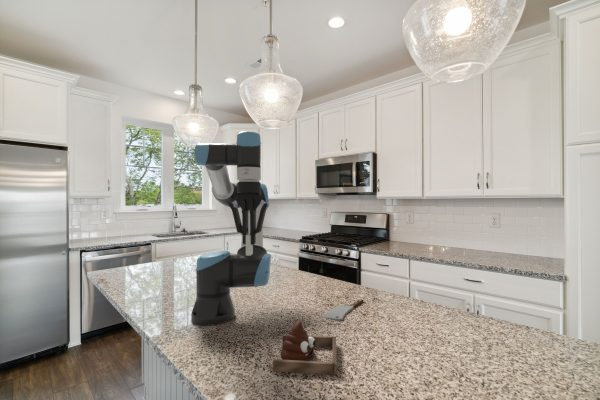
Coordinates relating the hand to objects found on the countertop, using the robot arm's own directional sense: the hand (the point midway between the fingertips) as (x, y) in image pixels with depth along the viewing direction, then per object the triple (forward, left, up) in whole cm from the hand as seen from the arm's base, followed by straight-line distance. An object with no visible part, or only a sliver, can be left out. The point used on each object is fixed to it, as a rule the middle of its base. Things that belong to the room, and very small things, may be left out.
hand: (249, 254), depth 94 cm
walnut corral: (+20, -14, -25) cm, 34 cm away
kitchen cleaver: (+31, +23, -25) cm, 46 cm away
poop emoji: (+17, -13, -25) cm, 33 cm away
